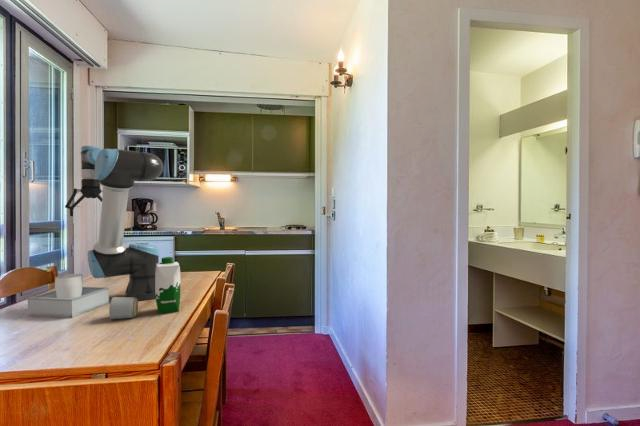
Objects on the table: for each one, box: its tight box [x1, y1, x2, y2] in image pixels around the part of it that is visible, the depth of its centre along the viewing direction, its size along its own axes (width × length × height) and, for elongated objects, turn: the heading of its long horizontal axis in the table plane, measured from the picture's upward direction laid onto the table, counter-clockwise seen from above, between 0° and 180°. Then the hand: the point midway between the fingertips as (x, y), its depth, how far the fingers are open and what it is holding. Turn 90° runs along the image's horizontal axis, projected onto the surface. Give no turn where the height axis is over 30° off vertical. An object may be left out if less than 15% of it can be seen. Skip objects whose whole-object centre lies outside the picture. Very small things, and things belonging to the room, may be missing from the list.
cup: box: [54, 273, 84, 299], centre depth 135 cm, size 9×9×12 cm
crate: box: [27, 286, 110, 319], centre depth 136 cm, size 18×18×7 cm
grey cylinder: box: [108, 296, 139, 320], centre depth 127 cm, size 11×8×8 cm
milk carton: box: [155, 256, 181, 315], centre depth 134 cm, size 9×9×20 cm
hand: (91, 223), depth 169 cm, fingers open, 13 cm apart
